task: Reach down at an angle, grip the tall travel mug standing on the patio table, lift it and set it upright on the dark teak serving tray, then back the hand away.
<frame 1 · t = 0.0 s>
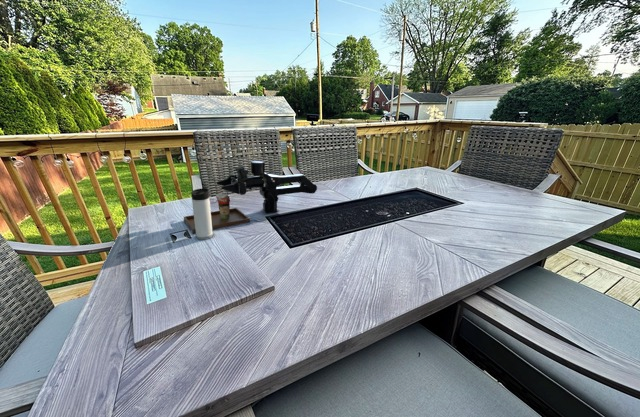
hand: (218, 185, 122), 17 cm above the table, tool horizontal, fingers open, 9 cm apart
serving tray: (217, 221, 124), on the table
travel mug: (205, 236, 108), on the table
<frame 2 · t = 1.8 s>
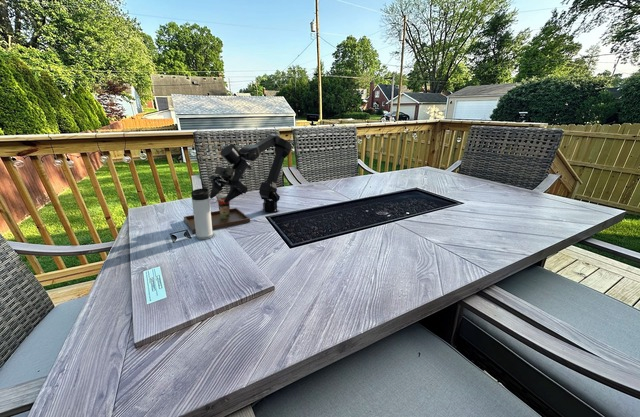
hand: (217, 200, 110), 14 cm above the table, tool tilted 45°, fingers open, 9 cm apart
nothing on the table moved.
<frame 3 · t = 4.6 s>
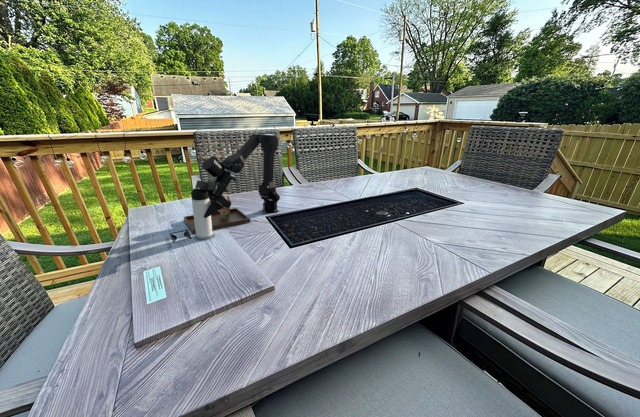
hand: (199, 215, 104), 10 cm above the table, tool tilted 45°, fingers closed on travel mug, 6 cm apart
travel mug: (205, 236, 108), on the table, touching gripper
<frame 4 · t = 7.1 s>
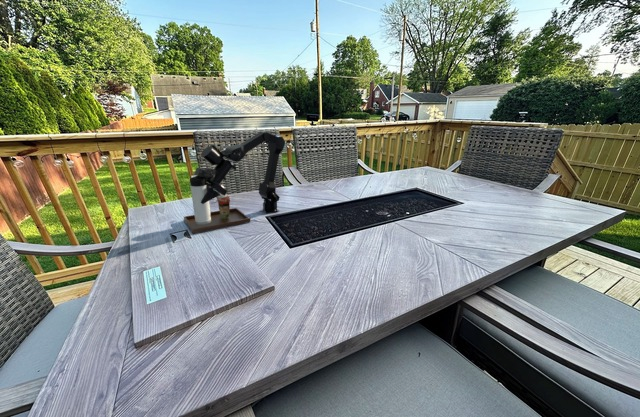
hand: (198, 201, 109), 13 cm above the table, tool tilted 45°, fingers closed on travel mug, 6 cm apart
travel mug: (203, 222, 113), point 3 cm above the table, touching gripper
when the fingers open (10 cm above the table, at t = 9.8 s): travel mug stays where it is, resting on serving tray.
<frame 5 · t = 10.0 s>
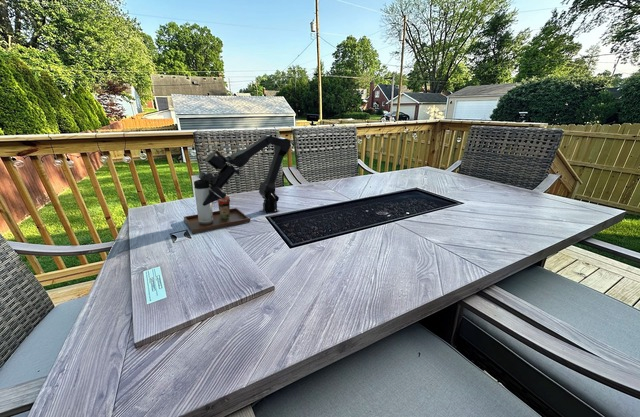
hand: (200, 202, 117), 10 cm above the table, tool tilted 45°, fingers open, 8 cm apart
travel mug: (206, 222, 121), resting on serving tray, touching gripper
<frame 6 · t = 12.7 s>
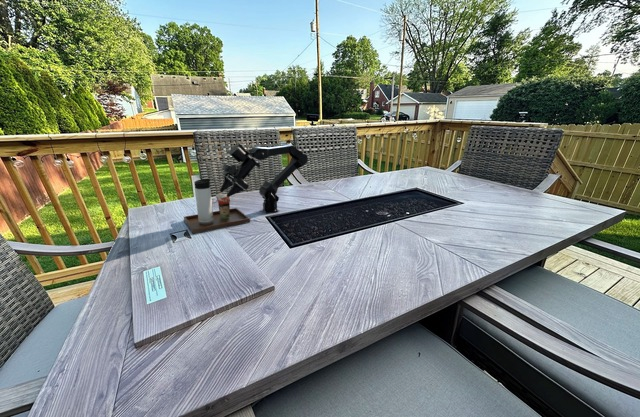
hand: (223, 193, 122), 13 cm above the table, tool tilted 45°, fingers open, 9 cm apart
travel mug: (206, 222, 121), resting on serving tray
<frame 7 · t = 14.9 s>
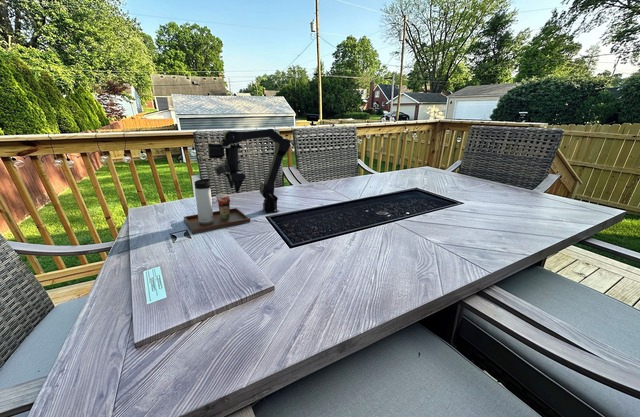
hand: (234, 190, 128), 13 cm above the table, tool pointing down, fingers open, 9 cm apart
nothing on the table moved.
at the end: travel mug inside the target area in the serving tray (4.8 cm from its centre), point 0.3 cm above the serving tray's base; travel mug tilted 0°; the gripper is holding nothing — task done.
